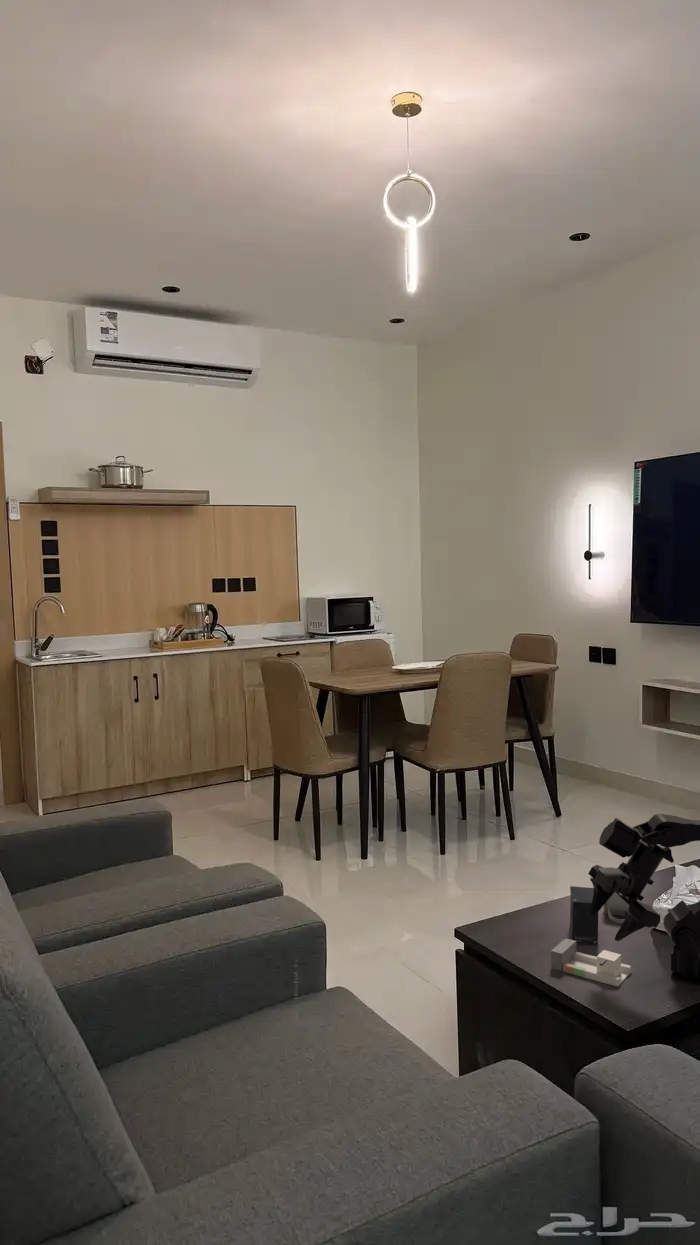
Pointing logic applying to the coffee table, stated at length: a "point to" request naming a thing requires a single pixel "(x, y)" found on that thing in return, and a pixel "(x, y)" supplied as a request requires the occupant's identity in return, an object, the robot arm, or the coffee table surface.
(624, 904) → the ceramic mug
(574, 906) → the small box
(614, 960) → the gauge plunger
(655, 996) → the coffee table surface
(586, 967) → the base
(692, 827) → the robot arm
